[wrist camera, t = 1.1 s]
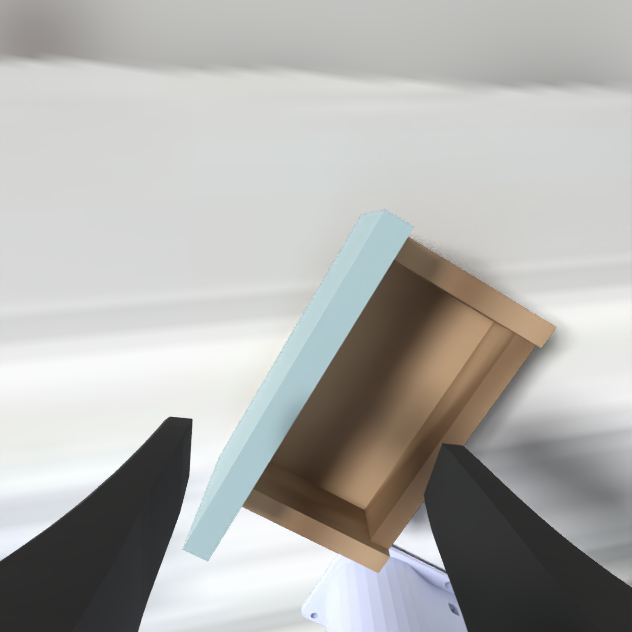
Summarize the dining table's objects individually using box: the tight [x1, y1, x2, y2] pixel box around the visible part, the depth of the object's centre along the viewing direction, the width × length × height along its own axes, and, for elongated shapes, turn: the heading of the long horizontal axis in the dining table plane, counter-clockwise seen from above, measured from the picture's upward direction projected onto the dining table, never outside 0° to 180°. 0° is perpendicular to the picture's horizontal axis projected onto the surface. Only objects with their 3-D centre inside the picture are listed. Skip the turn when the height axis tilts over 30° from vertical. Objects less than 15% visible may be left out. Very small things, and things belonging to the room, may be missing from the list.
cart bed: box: [242, 237, 556, 573], centre depth 23 cm, size 9×16×6 cm, turn 150°
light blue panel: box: [183, 209, 414, 561], centre depth 19 cm, size 1×16×7 cm, turn 149°
